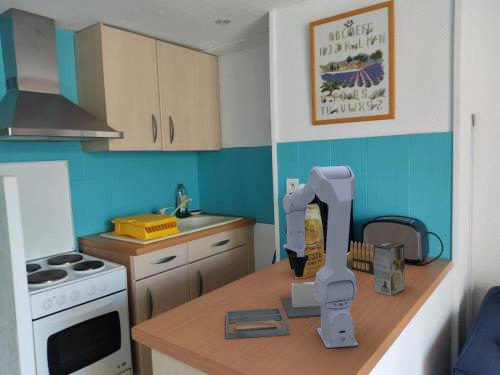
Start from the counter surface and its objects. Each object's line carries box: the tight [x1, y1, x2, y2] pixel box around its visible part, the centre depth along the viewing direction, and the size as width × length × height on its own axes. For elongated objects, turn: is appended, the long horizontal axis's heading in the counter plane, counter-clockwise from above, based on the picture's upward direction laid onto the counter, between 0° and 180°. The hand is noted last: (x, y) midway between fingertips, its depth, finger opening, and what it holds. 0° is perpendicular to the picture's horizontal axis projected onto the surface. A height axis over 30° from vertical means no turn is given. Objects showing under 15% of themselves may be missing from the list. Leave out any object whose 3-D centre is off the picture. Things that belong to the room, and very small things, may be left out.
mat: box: [280, 296, 321, 319], centre depth 110 cm, size 14×14×1 cm
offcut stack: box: [233, 320, 280, 332], centre depth 95 cm, size 4×12×2 cm, turn 95°
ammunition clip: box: [349, 240, 374, 275], centre depth 143 cm, size 11×2×12 cm, turn 43°
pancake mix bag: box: [294, 203, 325, 280], centre depth 140 cm, size 7×19×28 cm, turn 125°
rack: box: [225, 307, 290, 340], centre depth 99 cm, size 14×17×2 cm
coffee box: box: [373, 241, 405, 297], centre depth 121 cm, size 9×6×16 cm
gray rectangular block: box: [291, 281, 321, 308], centre depth 110 cm, size 2×9×7 cm, turn 94°
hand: (296, 272), depth 114 cm, fingers open, 7 cm apart
